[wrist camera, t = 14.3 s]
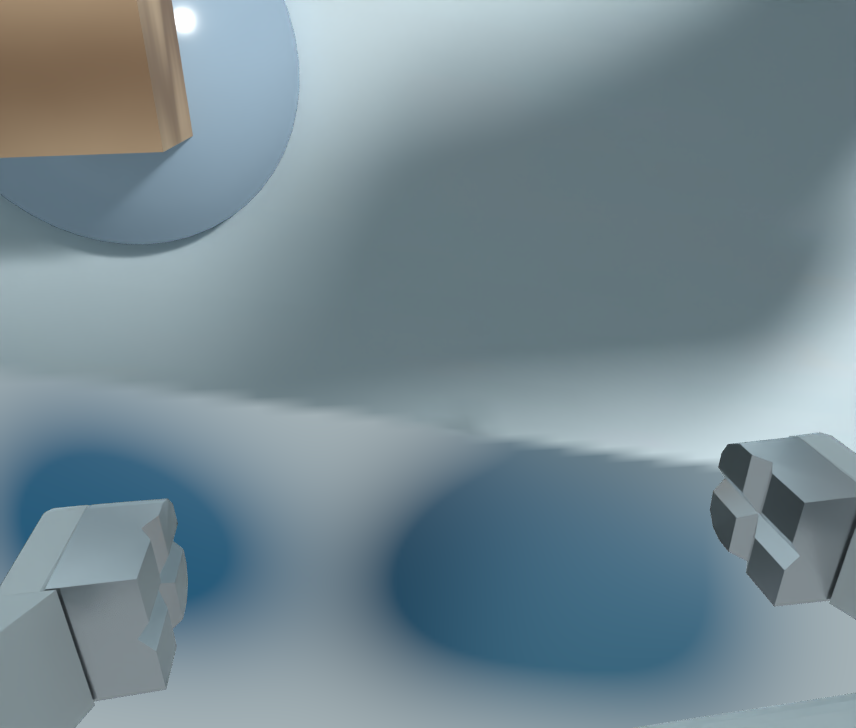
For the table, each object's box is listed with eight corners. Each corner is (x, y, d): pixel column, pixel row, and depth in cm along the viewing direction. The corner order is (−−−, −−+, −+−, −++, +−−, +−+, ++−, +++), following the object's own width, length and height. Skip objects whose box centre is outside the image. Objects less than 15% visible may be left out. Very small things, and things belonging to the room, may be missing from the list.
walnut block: (27, -5, 24) (-56, -29, 18) (170, -6, 24) (131, -28, 19) (61, 140, 26) (-5, 158, 20) (192, 135, 26) (163, 152, 21)
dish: (-140, -160, 22) (-164, -171, 21) (279, -148, 24) (278, -159, 23) (-18, 247, 28) (-31, 254, 27) (313, 229, 30) (314, 234, 29)
